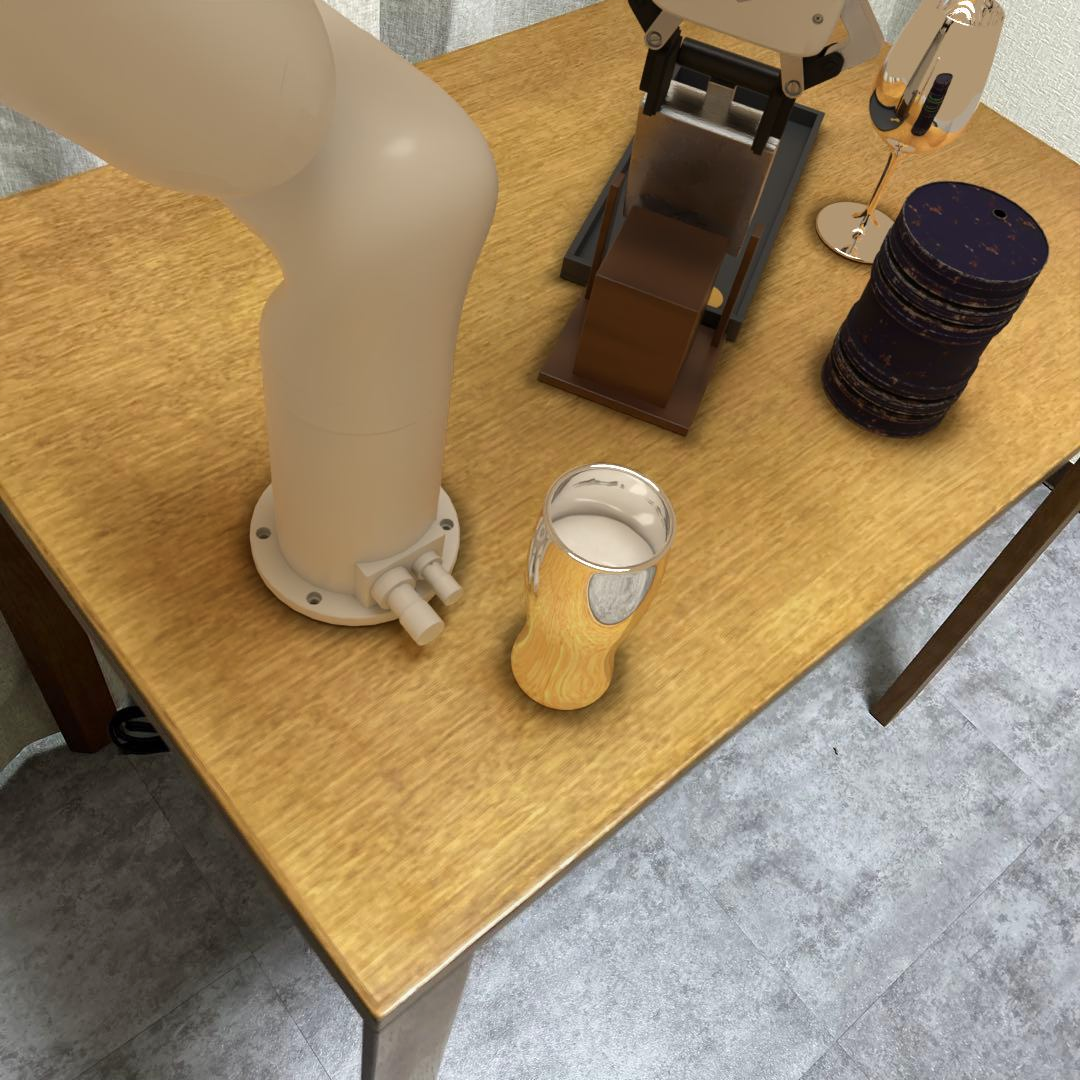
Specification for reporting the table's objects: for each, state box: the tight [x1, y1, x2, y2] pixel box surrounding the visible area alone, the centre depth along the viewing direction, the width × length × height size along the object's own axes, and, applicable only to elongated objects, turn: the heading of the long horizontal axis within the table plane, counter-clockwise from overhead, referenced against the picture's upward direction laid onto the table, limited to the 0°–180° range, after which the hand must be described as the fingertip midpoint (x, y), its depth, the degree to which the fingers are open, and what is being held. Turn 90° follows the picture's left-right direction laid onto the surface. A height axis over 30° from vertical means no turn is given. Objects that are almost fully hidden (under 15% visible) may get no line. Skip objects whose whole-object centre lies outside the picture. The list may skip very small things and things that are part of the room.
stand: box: [537, 172, 765, 437], centre depth 76 cm, size 10×11×11 cm
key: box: [707, 287, 723, 309], centre depth 85 cm, size 7×3×1 cm, turn 5°
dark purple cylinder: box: [820, 180, 1050, 439], centre depth 77 cm, size 10×10×15 cm
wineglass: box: [815, 0, 1006, 264], centre depth 85 cm, size 8×8×20 cm
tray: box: [559, 64, 826, 343], centre depth 92 cm, size 30×14×2 cm, turn 159°
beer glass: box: [510, 461, 678, 711], centre depth 59 cm, size 7×7×15 cm
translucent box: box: [622, 36, 781, 258], centre depth 71 cm, size 14×9×4 cm
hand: (708, 120), depth 66 cm, fingers closed on translucent box, 6 cm apart
